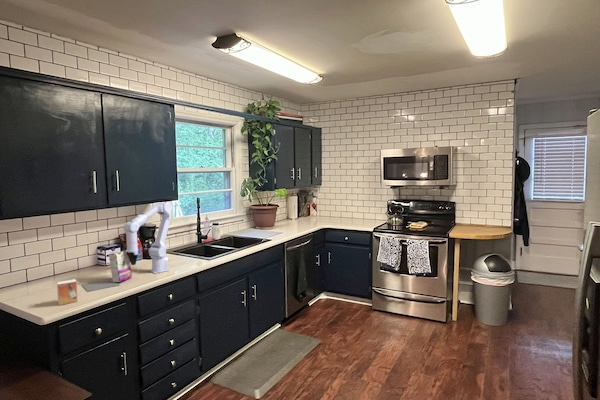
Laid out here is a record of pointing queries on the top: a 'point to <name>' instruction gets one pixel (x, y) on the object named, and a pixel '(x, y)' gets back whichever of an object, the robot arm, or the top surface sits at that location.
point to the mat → (99, 285)
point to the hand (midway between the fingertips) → (133, 264)
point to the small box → (67, 292)
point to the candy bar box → (120, 266)
